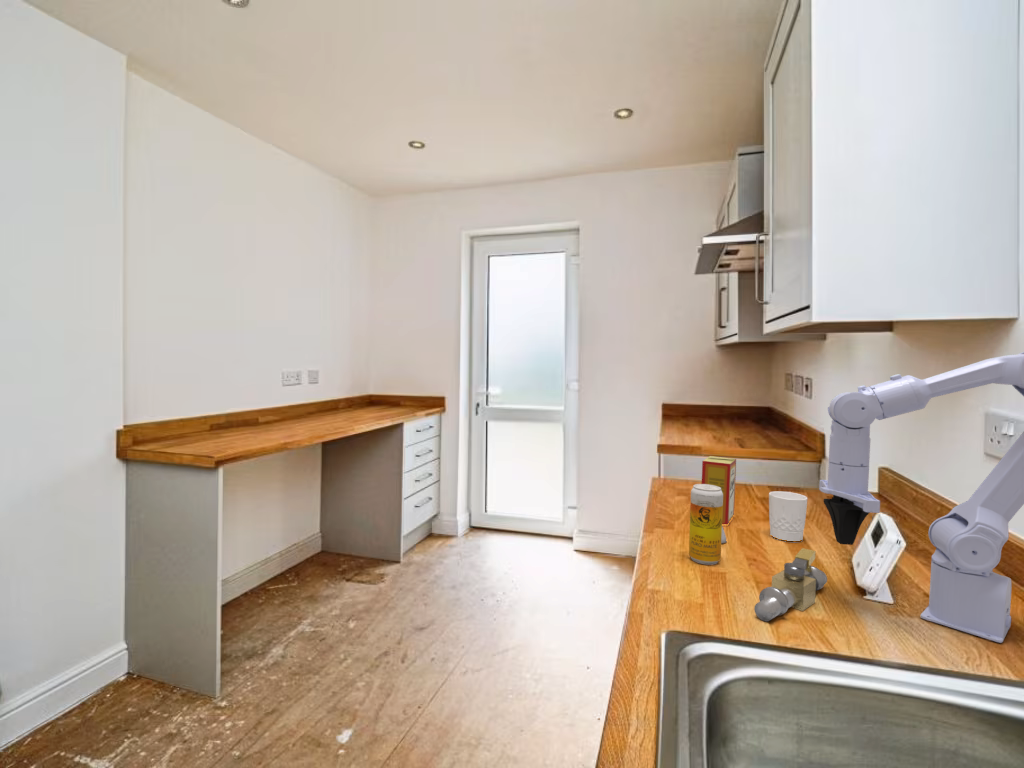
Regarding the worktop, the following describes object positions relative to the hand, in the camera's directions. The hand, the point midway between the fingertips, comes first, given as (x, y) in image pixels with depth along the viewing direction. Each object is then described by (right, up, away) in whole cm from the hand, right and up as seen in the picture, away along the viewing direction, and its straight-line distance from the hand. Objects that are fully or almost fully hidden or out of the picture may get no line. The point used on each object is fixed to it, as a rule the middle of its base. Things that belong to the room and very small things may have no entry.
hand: (844, 543), depth 87 cm
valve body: (-9, -10, 0) cm, 13 cm away
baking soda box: (-3, -8, +46) cm, 47 cm away
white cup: (+8, -9, +33) cm, 35 cm away
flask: (-11, -9, +30) cm, 33 cm away
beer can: (-17, -9, +17) cm, 26 cm away
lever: (-5, -5, +4) cm, 9 cm away
